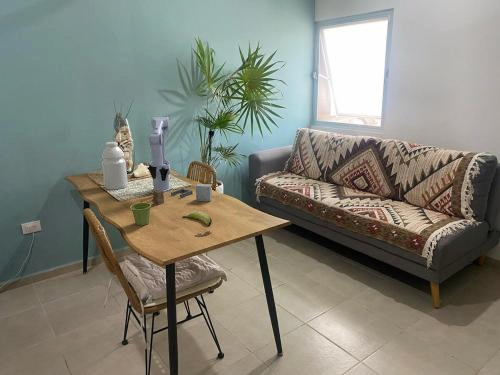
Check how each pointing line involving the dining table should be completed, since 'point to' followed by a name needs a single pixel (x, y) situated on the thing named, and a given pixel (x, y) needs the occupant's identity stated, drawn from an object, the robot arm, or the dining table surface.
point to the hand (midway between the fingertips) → (158, 179)
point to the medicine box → (203, 192)
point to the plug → (158, 197)
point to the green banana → (202, 217)
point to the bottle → (114, 167)
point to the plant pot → (141, 213)
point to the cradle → (185, 192)
